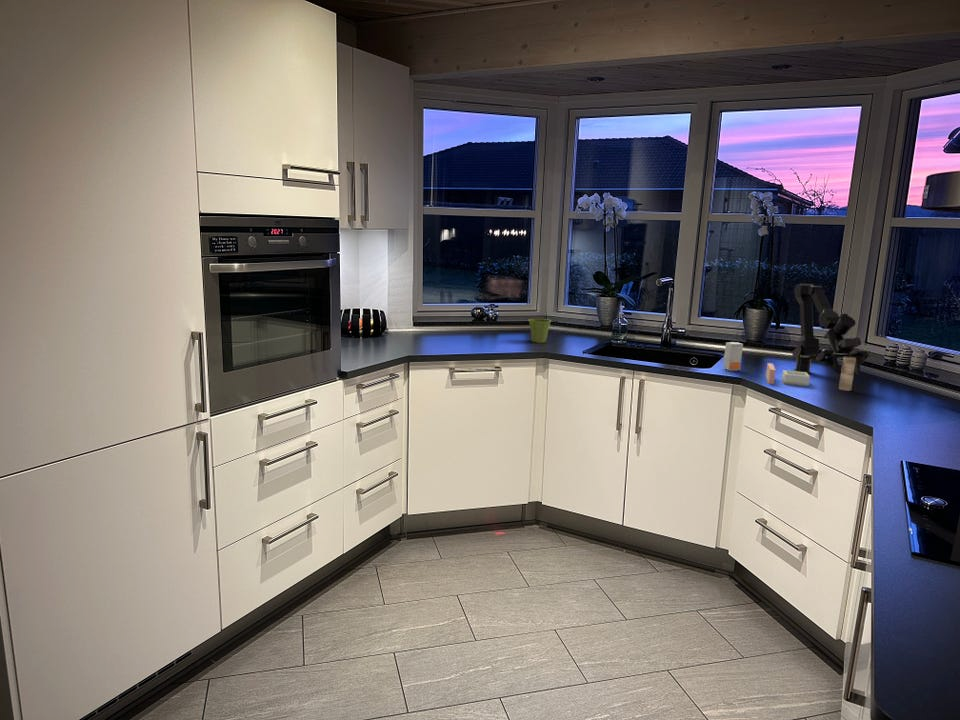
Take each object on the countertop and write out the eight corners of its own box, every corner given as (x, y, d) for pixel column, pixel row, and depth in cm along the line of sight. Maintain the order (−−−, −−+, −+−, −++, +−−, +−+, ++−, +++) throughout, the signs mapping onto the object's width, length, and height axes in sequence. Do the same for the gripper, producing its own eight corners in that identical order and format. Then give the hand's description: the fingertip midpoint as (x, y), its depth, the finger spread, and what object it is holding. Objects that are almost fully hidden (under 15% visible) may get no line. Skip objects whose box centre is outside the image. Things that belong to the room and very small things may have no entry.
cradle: (781, 379, 281) (783, 370, 280) (805, 381, 278) (806, 372, 277) (784, 383, 272) (785, 374, 272) (808, 386, 270) (809, 376, 269)
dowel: (837, 387, 271) (842, 356, 268) (849, 389, 269) (854, 357, 267) (839, 390, 266) (844, 357, 264) (852, 391, 265) (857, 359, 263)
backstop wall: (765, 377, 285) (767, 363, 284) (770, 377, 284) (772, 363, 283) (768, 384, 272) (770, 369, 271) (773, 384, 271) (775, 370, 270)
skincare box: (728, 370, 295) (731, 343, 292) (722, 368, 299) (725, 342, 296) (740, 370, 296) (743, 343, 294) (734, 368, 300) (737, 342, 298)
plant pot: (540, 339, 355) (541, 318, 353) (554, 343, 346) (556, 321, 344) (522, 340, 349) (523, 319, 346) (536, 344, 339) (538, 322, 337)
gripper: (825, 329, 266) (837, 362, 258) (870, 330, 268) (883, 363, 259) (811, 345, 276) (822, 377, 267) (855, 346, 277) (867, 379, 268)
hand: (849, 374), depth 265 cm, fingers open, 7 cm apart
